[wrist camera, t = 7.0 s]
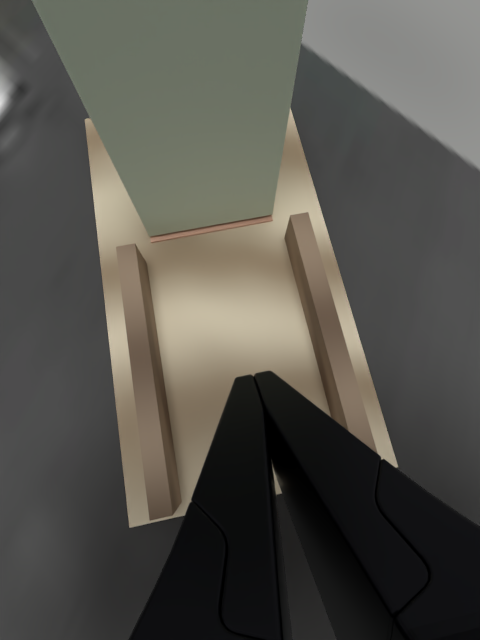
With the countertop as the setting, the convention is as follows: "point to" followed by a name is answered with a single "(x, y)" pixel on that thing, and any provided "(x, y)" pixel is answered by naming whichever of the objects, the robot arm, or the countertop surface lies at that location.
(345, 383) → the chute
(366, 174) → the countertop surface
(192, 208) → the sage block
